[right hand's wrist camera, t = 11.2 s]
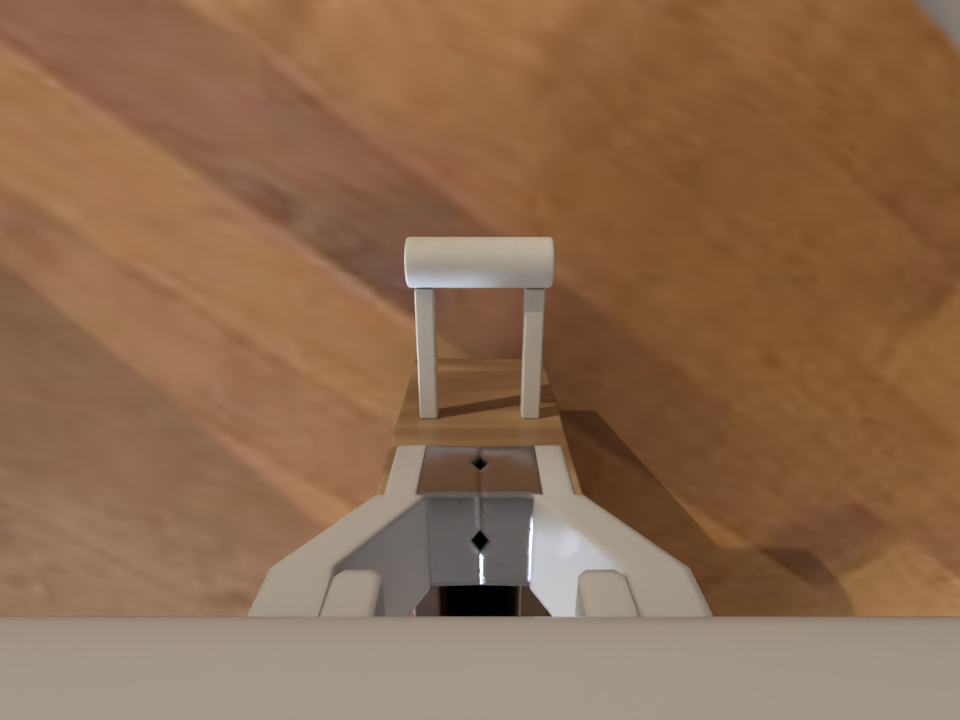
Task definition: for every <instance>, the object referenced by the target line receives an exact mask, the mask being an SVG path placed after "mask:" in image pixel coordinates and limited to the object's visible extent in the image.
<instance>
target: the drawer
mask: <svg viewBox="0 0 960 720" xmlns="http://www.w3.org/2000/svg"><path fill="white" fill-rule="evenodd" d="M404 266H405V278H406V283H407V285H408V287H410V288H415V291H414V296H415V319H416V341H417V359H416V360H415V363H414V367H413V370H412V374H411V377H410V380H409V384H408V387H407V391H406V394H405V398H404V401H403V404H402V408H401V411H400V415H399V418H398V421H397V425H396V428H395V432H394V435H393V438H392V442H391V445H390V449H389V452H388V456H387V459H386V462H385V466H384V469H383V473H382V476H381V479H380V483H379V486H378V490H377V493H376V495H384V494H385V490H386V486H387V483H388V479H389V475H390V472H391V468H392V464H393V461H394V457H395V454H396V450H397V448H398V447H399V446H400V445H426V446H427V445H439V446H480V447H489V446H530V445H534V446H539V445H561V446H562V447H563V451H564V454H565V458H566V461H567V465H568V468H569V472H570V476H571V479H572V483H573V486H574V490H575V494H576V495H583V492H582V489H581V485H580V482H579V479H578V475H577V472H576V469H575V465H574V462H573V458H572V455H571V452H570V448H569V445H568V441H567V438H566V435H565V431H564V428H563V424H562V421H561V418H560V414H559V411H558V407H557V404H556V401H555V397H554V394H553V390H552V387H551V384H550V380H549V377H548V374H547V370H546V367H545V363H544V360H543V359H542V347H543V325H544V303H545V290H544V288H550V287H551V286H552V284H553V280H554V271H555V247H554V241H553V239H552V238H551V237H408V238H407V239H406V243H405V252H404ZM435 288H524V312H523V345H522V359H437V338H436V305H435ZM545 613H546V608H545V607H544V606H543V604H542V603H541V602H540V601H539V599H538V598H537V597H536V596H535V594H534V593H533V592H532V591H531V589H530V586H498V585H460V586H430V590H429V591H428V593H427V594H426V595H425V596H424V597H423V599H422V600H421V601H420V602H419V604H418V605H417V606H416V607H415V609H414V616H545Z"/></svg>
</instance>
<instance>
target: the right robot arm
mask: <svg viewBox="0 0 960 720" xmlns="http://www.w3.org/2000/svg"><path fill="white" fill-rule="evenodd" d="M460 585H498V586H530V589H531V591H532V592H533V593H534V594H535V596H536V597H537V598H538V599H539V601H540V602H541V603H542V604H543V606H544V607H545V608H546V609H547V611H548V612H549V613H550V614H551V616H409V615H410V614H411V612H412V611H413V610H414V609H415V607H416V606H417V605H418V604H419V602H420V601H421V600H422V599H423V597H424V596H425V595H426V594H427V593H428V591H429V590H430V586H460ZM0 720H960V617H954V616H713V614H712V612H711V610H710V608H709V606H708V604H707V602H706V600H705V598H704V596H703V594H702V592H701V590H700V588H699V586H698V584H697V582H696V580H695V578H694V576H693V574H692V572H691V569H690V568H689V567H687V566H686V565H685V564H683V563H682V562H680V561H679V560H677V559H676V558H674V557H673V556H672V555H670V554H669V553H667V552H666V551H664V550H663V549H661V548H660V547H658V546H657V545H656V544H654V543H653V542H651V541H650V540H648V539H647V538H645V537H644V536H643V535H641V534H640V533H638V532H637V531H635V530H634V529H632V528H631V527H629V526H628V525H627V524H625V523H624V522H622V521H621V520H619V519H618V518H616V517H615V516H614V515H612V514H611V513H609V512H608V511H606V510H605V509H603V508H602V507H600V506H599V505H598V504H596V503H595V502H593V501H592V500H590V499H589V498H587V497H586V496H585V495H576V494H575V490H574V486H573V483H572V479H571V476H570V472H569V468H568V465H567V461H566V458H565V454H564V451H563V447H562V446H561V445H539V446H534V445H530V446H489V447H480V446H439V445H427V446H426V445H400V446H399V447H398V448H397V450H396V454H395V457H394V461H393V464H392V468H391V472H390V475H389V479H388V483H387V486H386V490H385V494H384V495H375V496H374V497H373V498H371V499H370V500H368V501H367V502H365V503H364V504H362V505H361V506H359V507H358V508H357V509H355V510H354V511H352V512H351V513H349V514H348V515H346V516H345V517H343V518H342V519H341V520H339V521H338V522H336V523H335V524H333V525H332V526H330V527H329V528H327V529H326V530H324V531H323V532H322V533H320V534H319V535H317V536H316V537H314V538H313V539H311V540H310V541H308V542H307V543H306V544H304V545H303V546H301V547H300V548H298V549H297V550H295V551H294V552H292V553H291V554H290V555H288V556H287V557H285V558H284V559H282V560H281V561H279V562H278V563H276V564H275V565H273V566H272V567H271V568H270V570H269V572H268V574H267V576H266V578H265V580H264V582H263V584H262V586H261V588H260V590H259V592H258V594H257V596H256V598H255V600H254V602H253V604H252V606H251V608H250V610H249V612H248V614H247V616H0Z"/></svg>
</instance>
